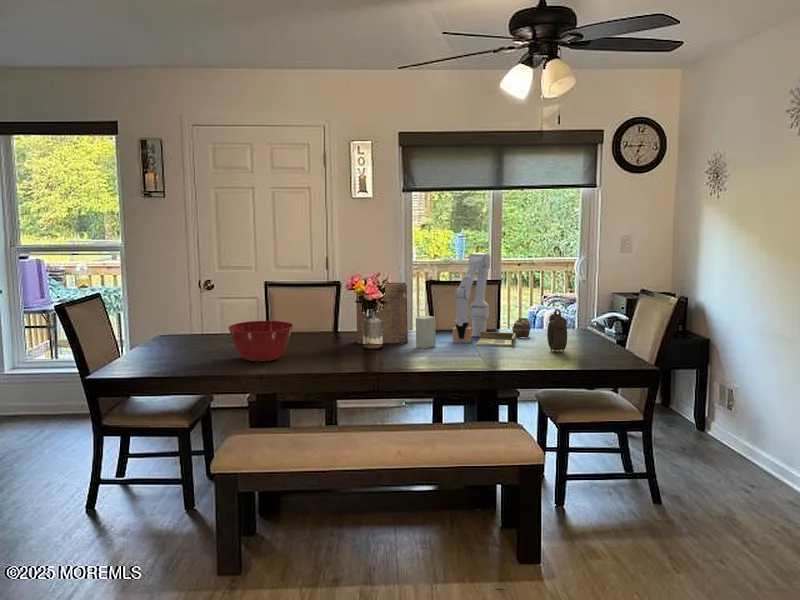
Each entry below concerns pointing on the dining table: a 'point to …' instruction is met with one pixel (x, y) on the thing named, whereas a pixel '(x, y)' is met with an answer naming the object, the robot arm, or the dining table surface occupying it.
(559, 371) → the dining table surface
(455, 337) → the block
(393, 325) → the brown upright rectangular box
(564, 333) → the brown backpack
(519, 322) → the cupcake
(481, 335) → the wooden tray
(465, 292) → the robot arm
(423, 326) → the skincare box
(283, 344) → the mixing bowl
